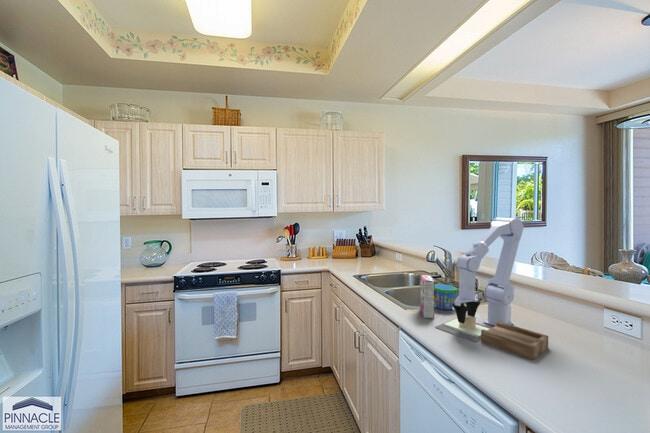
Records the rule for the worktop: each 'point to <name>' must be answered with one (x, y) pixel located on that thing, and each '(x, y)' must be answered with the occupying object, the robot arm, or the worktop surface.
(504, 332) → the walnut box
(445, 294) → the snack cup
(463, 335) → the charcoal mat
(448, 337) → the worktop surface
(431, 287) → the candy bar box
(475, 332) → the cover plate
